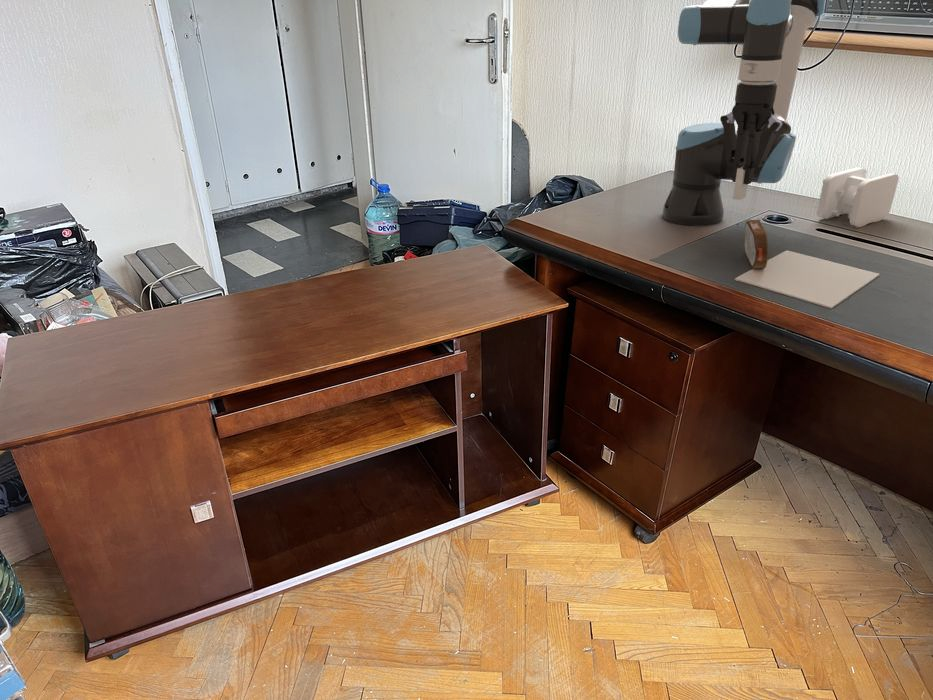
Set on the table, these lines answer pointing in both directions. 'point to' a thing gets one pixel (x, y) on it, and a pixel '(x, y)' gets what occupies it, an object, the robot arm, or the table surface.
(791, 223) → the table surface
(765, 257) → the tin
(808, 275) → the mat
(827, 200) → the cable organizer
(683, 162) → the robot arm
